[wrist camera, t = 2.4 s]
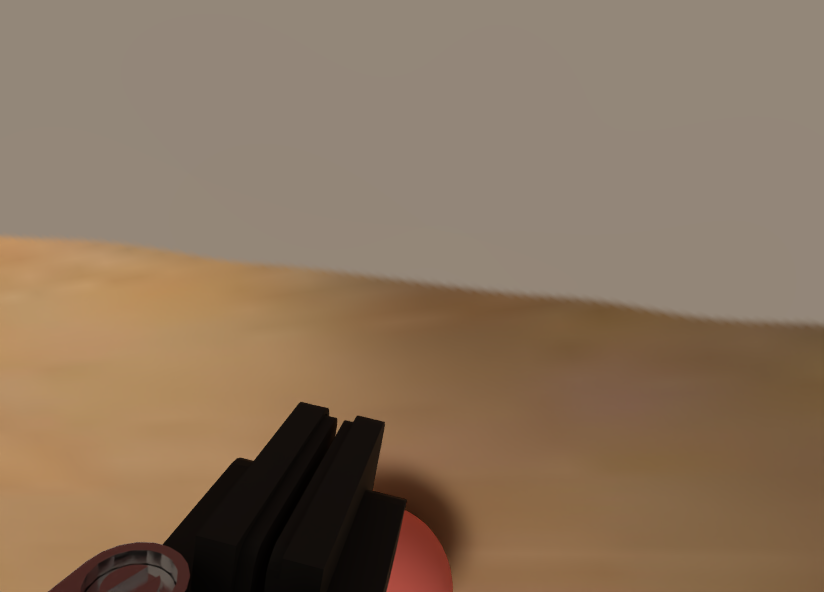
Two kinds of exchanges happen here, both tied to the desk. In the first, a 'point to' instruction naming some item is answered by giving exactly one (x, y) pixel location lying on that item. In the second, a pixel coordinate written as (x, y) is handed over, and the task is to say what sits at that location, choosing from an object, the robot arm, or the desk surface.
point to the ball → (419, 560)
